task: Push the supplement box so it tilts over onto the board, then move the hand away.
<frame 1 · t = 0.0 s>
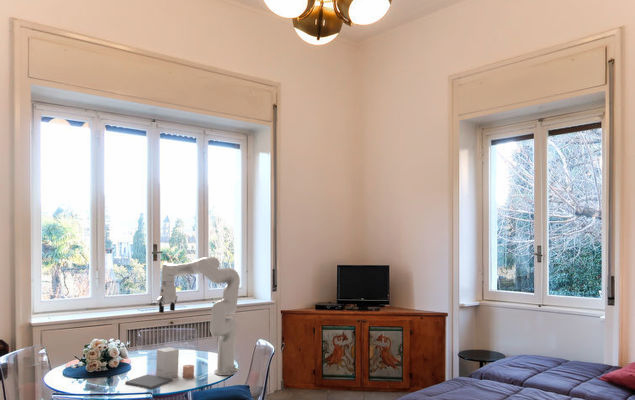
hand: (166, 311, 322), 31 cm above the table, tool pointing down, fingers open, 9 cm apart
tan small cube: (188, 377, 291), on the table
supplement box: (166, 376, 291), on the table
board: (149, 382, 279), on the table
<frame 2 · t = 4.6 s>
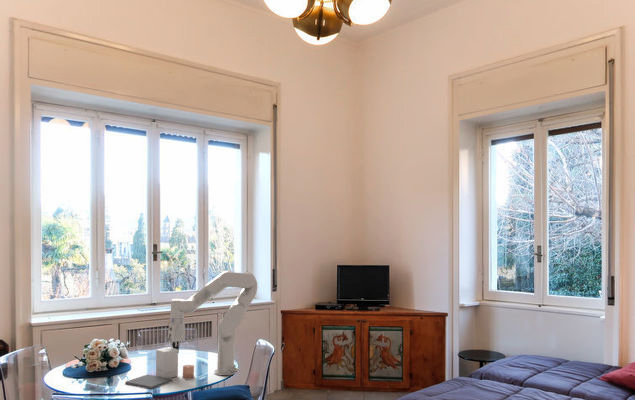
hand: (175, 353, 298), 11 cm above the table, tool pointing down, fingers closed
supplement box: (166, 376, 291), on the table, touching gripper
everything else where it was.
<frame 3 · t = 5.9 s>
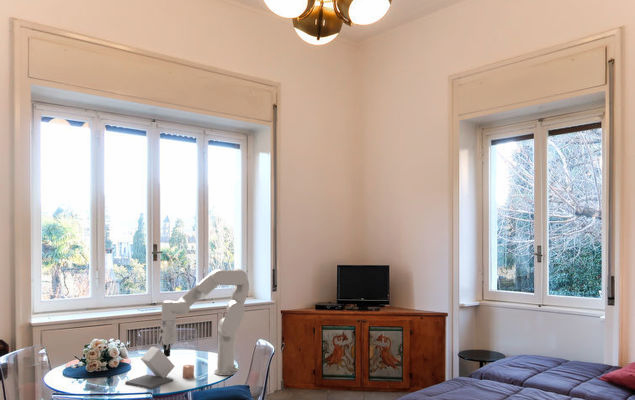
hand: (166, 356, 292), 11 cm above the table, tool pointing down, fingers closed
supplement box: (165, 371, 291), point 3 cm above the table, touching board
everything else where it was.
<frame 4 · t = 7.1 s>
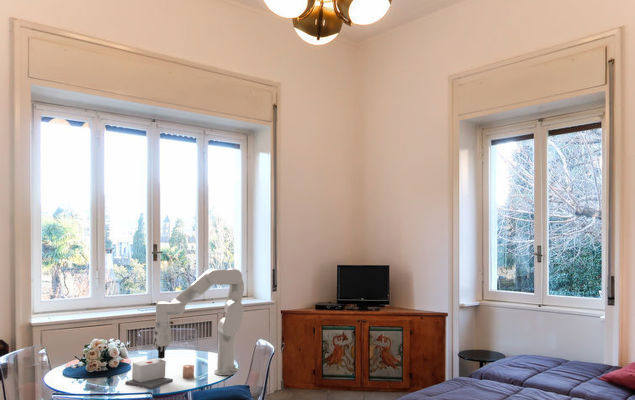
hand: (161, 358, 287), 11 cm above the table, tool pointing down, fingers closed
supplement box: (161, 367, 289), point 6 cm above the table, touching board
everything else where it was.
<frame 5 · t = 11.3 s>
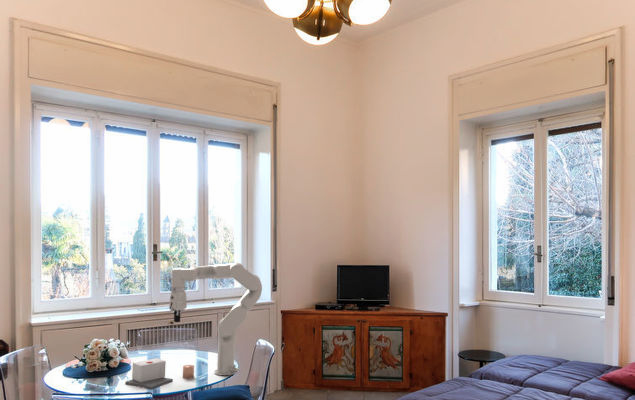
hand: (177, 321, 299), 29 cm above the table, tool pointing down, fingers closed
nothing on the table moved.
at the end: supplement box tilted 90°; supplement box inside the target area (9.7 cm from its centre), point 5.7 cm above the table; the gripper is holding nothing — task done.
